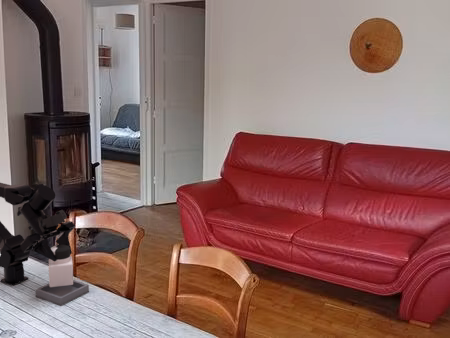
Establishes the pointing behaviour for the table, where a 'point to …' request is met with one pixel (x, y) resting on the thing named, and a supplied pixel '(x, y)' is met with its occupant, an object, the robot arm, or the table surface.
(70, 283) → the medicine bottle
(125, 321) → the table surface
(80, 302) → the table surface
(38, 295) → the charcoal tray
